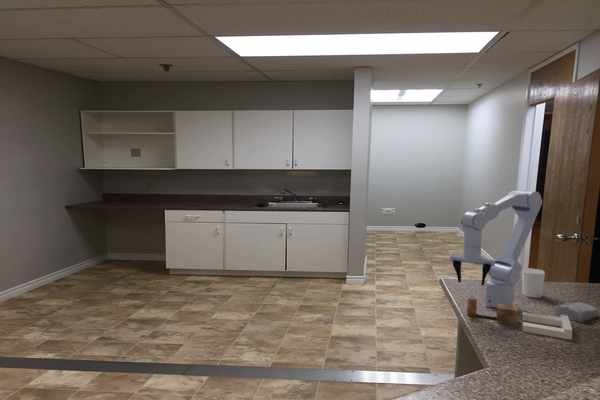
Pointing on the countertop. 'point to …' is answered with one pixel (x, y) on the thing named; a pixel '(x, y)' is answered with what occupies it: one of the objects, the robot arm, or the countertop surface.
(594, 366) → the countertop surface
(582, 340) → the countertop surface
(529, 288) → the white cup
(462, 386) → the countertop surface
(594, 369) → the countertop surface
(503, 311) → the string block
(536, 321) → the frame
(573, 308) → the stone block
